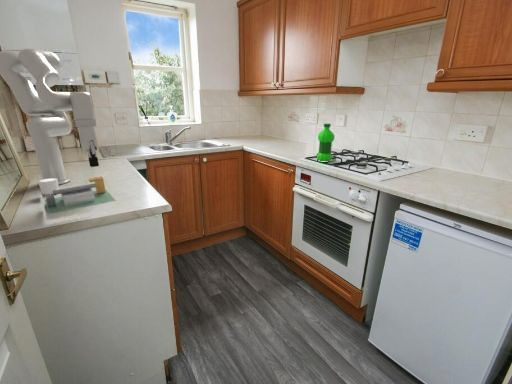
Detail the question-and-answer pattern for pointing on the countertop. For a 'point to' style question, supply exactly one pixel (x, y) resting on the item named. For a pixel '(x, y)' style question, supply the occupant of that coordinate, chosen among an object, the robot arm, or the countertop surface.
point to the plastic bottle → (325, 144)
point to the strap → (73, 189)
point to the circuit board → (99, 199)
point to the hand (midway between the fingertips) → (94, 166)
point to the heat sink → (72, 198)
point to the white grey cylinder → (48, 185)
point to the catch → (98, 184)
